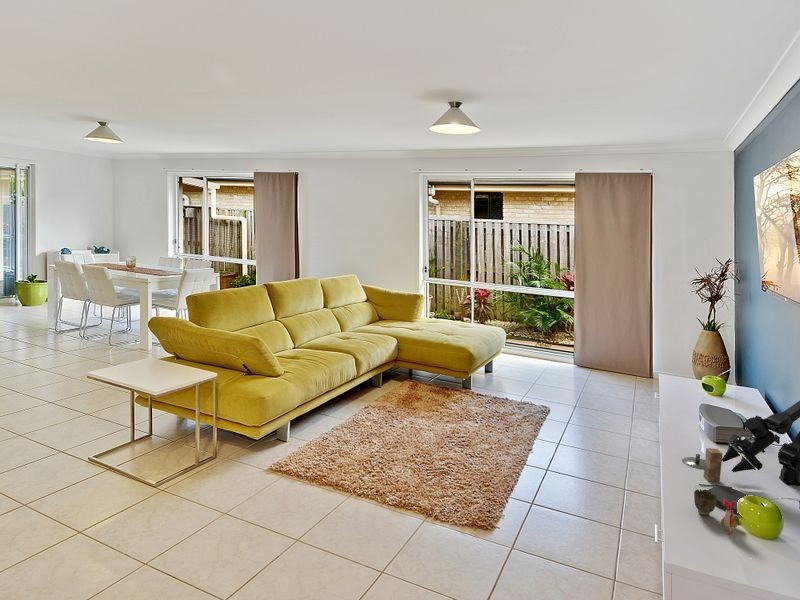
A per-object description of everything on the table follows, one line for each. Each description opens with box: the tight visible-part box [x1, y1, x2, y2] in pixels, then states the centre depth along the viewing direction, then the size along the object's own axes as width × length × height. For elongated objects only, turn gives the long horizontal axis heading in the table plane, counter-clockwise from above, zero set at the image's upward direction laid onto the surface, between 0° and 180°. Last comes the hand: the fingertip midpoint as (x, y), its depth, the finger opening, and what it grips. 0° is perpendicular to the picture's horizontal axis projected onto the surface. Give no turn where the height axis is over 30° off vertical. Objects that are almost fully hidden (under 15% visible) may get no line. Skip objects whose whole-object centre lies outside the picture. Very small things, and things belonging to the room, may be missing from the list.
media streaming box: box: [706, 485, 748, 514], centre depth 203 cm, size 15×15×3 cm
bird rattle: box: [720, 499, 743, 534], centre depth 184 cm, size 6×11×9 cm
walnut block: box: [703, 447, 724, 484], centre depth 217 cm, size 4×4×13 cm
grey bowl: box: [681, 453, 705, 471], centre depth 233 cm, size 12×12×5 cm
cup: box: [693, 488, 718, 517], centre depth 194 cm, size 8×7×8 cm
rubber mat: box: [698, 483, 733, 488], centre depth 218 cm, size 12×10×1 cm
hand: (727, 466), depth 217 cm, fingers open, 9 cm apart
